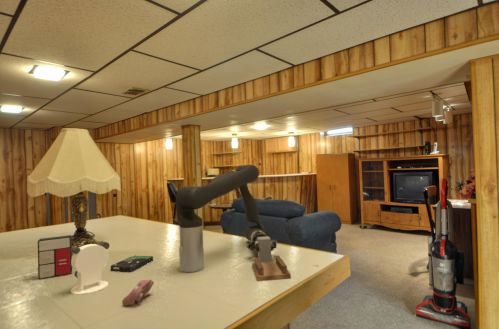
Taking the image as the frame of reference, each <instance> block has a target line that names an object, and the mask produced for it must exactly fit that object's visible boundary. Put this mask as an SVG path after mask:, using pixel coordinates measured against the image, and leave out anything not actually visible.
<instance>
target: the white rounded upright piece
mask: <svg viewBox="0 0 499 329" xmlns="http://www.w3.org/2000/svg"><path fill="white" fill-rule="evenodd" d="M109 248H110V243H109V242H107V241H104V240H101V241H99V243H98V244H96V243H89V244H85V245H82V246H79V247H78V246H72V248H71V250H70V252H72V259H71V265H72V270H74V271H75V272H74V273H73V274H74V277H76V279H77V280H76V281H77V283H76V285H75V286H74V287H72V288H71V290H70V293H71V294H72V295H77V296H84V295H89V294H93V293H96V292H100V291H103V290H104V289H106V288H107V287H108V286H109V282H108V281H106V280H102V276H103V269H104V268H105V266H107V264H108V263H109V259H110V256H109V252H108V249H109Z"/></svg>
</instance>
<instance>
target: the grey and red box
mask: <svg viewBox="0 0 499 329" xmlns="http://www.w3.org/2000/svg"><path fill="white" fill-rule="evenodd" d="M72 247H73V238H72V235H70V234H68V235H60V236H51V237H45V238H44V237H43V238H42V237H41V238H39V239H38V240H37V271H38V272H37V278H38V280H42V279H41V278H44V279H47V278H48V277H50V278H54V277H55V276H56V277H61V276H60V275H62V276H67V275H71V274H72V273H73V268H72V265H71V259H72V256H73V253H72V252H70V250H71V248H72ZM66 274H67V275H66ZM48 279H49V278H48Z"/></svg>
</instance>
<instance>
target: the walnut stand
mask: <svg viewBox="0 0 499 329" xmlns="http://www.w3.org/2000/svg"><path fill="white" fill-rule="evenodd" d="M251 267H252V270H253V273H254V276H255V278H256V281H257V282H261V281H262V282H263V281H264V282H265V281H275V280H287V279H291V277H292V275H291V273H290V271H289V270H288V266H287V264H286V263H285V261H284V260H283V259H282V258H281V256H280V255H275V261H272V262H262V263H261V262H260V260H259V258H258V256H257V257H254V262H252V264H251Z"/></svg>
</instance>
